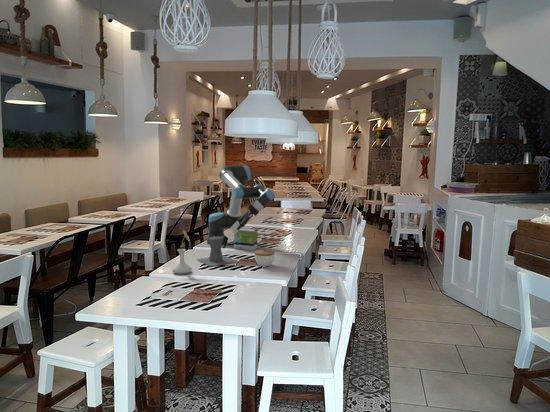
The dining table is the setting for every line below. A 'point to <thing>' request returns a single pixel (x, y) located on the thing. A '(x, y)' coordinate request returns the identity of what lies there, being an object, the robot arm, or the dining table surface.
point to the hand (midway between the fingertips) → (232, 231)
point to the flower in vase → (182, 260)
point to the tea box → (246, 239)
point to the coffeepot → (216, 248)
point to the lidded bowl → (264, 257)
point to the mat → (225, 261)
